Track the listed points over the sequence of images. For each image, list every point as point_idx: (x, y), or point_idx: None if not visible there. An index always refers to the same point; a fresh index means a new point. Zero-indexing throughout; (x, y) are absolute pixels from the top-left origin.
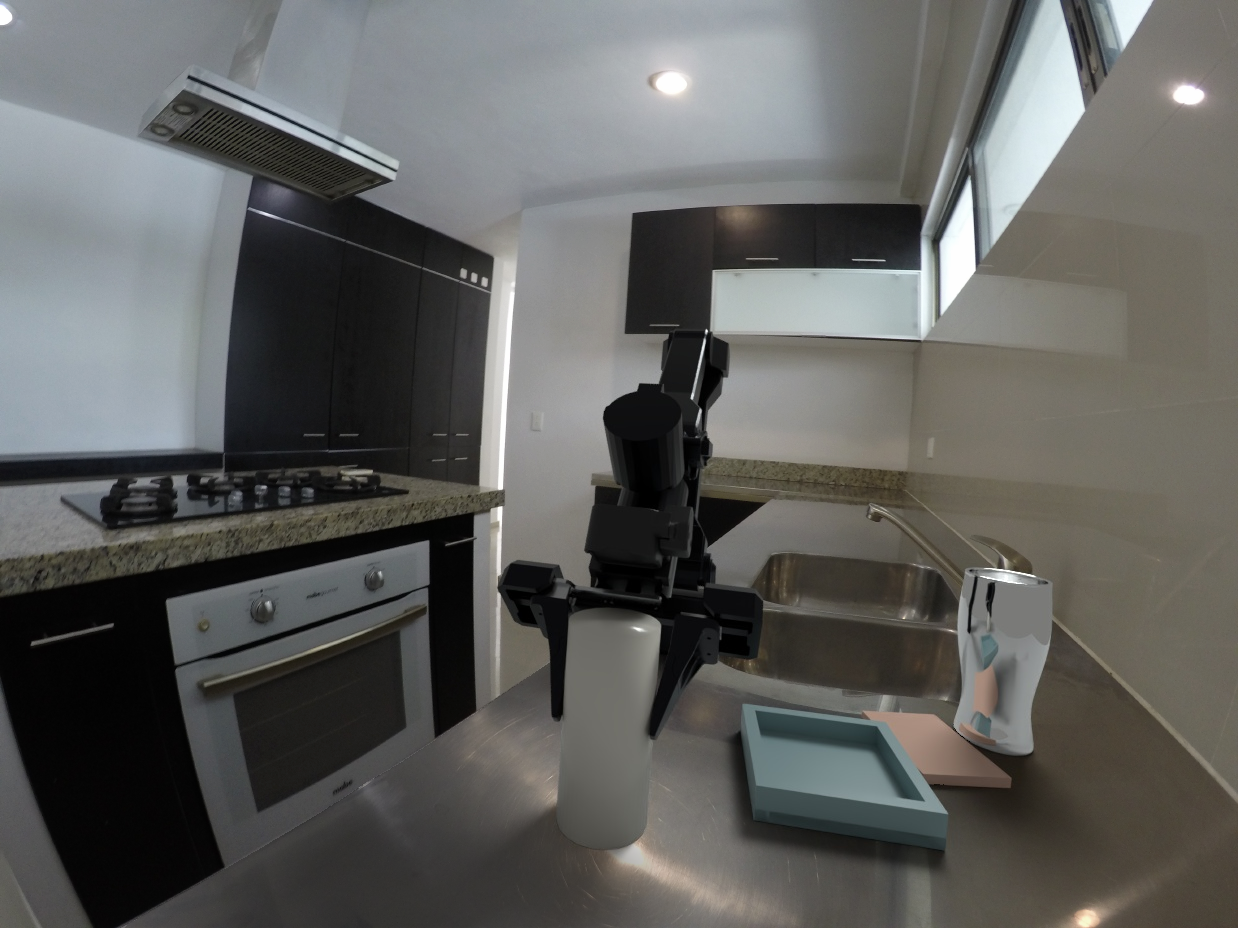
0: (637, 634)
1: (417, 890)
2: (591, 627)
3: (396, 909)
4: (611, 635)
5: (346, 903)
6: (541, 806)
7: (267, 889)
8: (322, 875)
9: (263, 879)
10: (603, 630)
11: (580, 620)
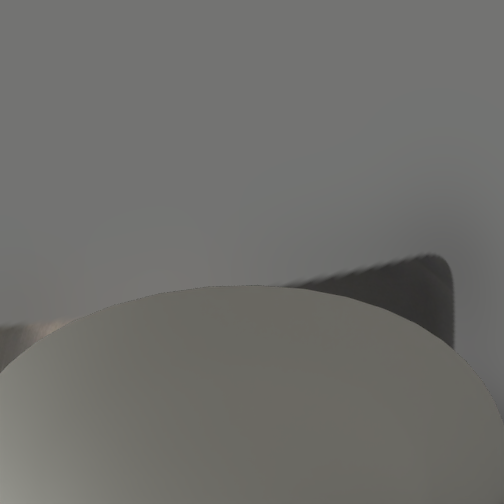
0: (43, 401)
1: (358, 296)
2: (409, 432)
3: (360, 277)
4: (236, 343)
5: (391, 274)
6: None
7: (435, 273)
8: (421, 291)
9: (442, 279)
10: (320, 419)
11: (474, 493)
